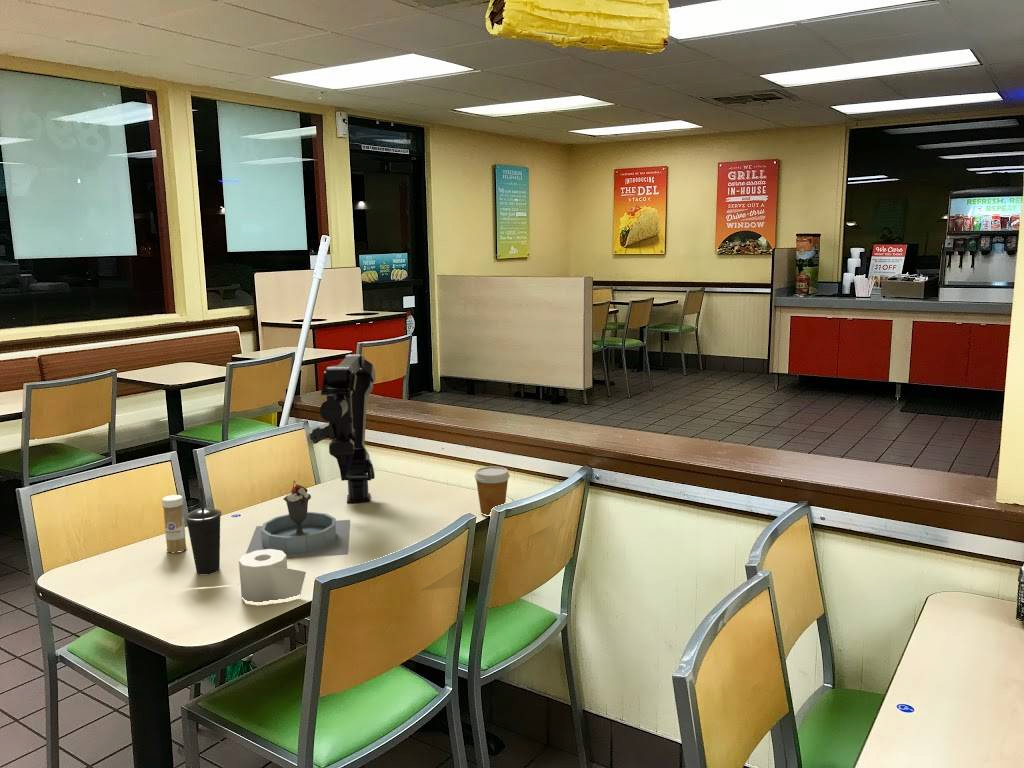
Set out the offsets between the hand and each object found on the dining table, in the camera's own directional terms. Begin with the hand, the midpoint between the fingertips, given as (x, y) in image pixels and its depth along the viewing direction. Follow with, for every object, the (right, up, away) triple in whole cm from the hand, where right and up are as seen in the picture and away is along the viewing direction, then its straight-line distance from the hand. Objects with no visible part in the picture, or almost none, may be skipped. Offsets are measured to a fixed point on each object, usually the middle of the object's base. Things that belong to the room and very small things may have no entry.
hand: (344, 471), depth 212 cm
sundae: (-8, -15, -14) cm, 22 cm away
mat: (-8, -16, -14) cm, 23 cm away
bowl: (-8, -16, -14) cm, 22 cm away
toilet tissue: (-6, -22, -45) cm, 50 cm away
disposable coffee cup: (+39, -12, +4) cm, 41 cm away
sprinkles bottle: (-37, -17, -19) cm, 45 cm away
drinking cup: (-24, -20, -32) cm, 44 cm away
